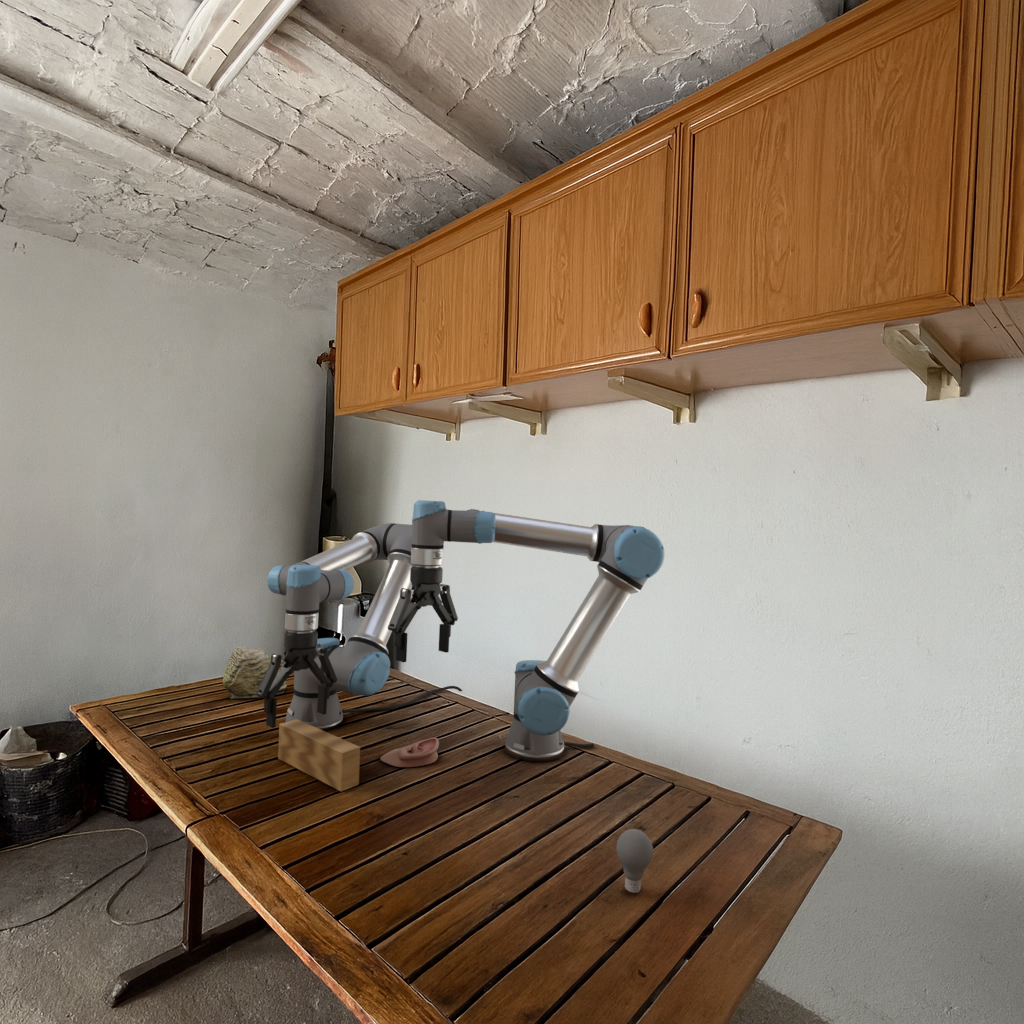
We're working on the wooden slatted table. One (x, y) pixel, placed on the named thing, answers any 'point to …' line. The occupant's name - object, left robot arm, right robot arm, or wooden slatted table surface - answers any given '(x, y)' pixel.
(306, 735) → the bar
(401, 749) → the anatomical model
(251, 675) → the fossil
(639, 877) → the light bulb
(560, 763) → the wooden slatted table surface
